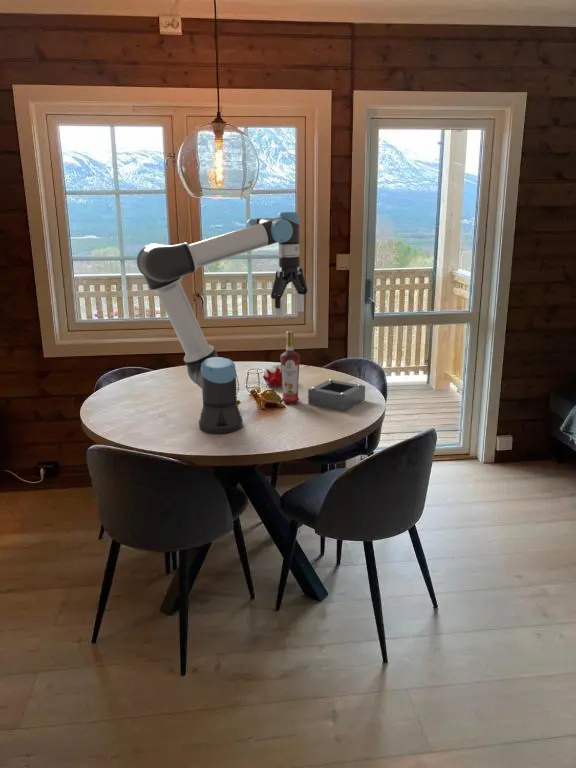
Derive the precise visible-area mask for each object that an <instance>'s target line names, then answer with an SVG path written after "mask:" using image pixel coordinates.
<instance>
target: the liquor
mask: <svg viewBox="0 0 576 768" xmlns="http://www.w3.org/2000/svg"><path fill="white" fill-rule="evenodd" d="M285 332H286V333H285V336H286V338H285V339H286V348H285V351H284V352H283V353H282V354H280V364H281V373H282V385H281V386H282V388H281V389H282V397H281V401H283V403H285V404H287V405H295V404H297V403H298V402H299V401H300V397H299V377H300V375H299V374H300V356H301V355H300V354H299V353H298V352H296V351H295V349H294V347H295V346H294V331H293V330H287V331H285Z"/></svg>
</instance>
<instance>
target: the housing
mask: <svg viewBox="0 0 576 768" xmlns="http://www.w3.org/2000/svg"><path fill="white" fill-rule="evenodd" d="M307 392H308V393H307V396H308V397H307V398H308V400H307V401H308V402H307V403H308V405H310V406H314V407H315V406H316V407H320V408H325V409H330V410H333V411H334V410H335V411H339V412H343V411H345V412H347V411H348V410H351V408H353V406H354V407H356V406H357V405H359V404H361V403H363V402H365V401H366V385H364V384H361V383H357V384H356V383H352V382H346V381H340V380H334V379H333V378H330V379H328V380H327V381H324V382H322V383H321V382H320V383H318V384H317V385H314V386H312V387H310V388H308V390H307ZM364 400H365V401H364ZM362 401H363V402H362ZM355 405H356V406H355Z"/></svg>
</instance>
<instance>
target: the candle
mask: <svg viewBox="0 0 576 768" xmlns="http://www.w3.org/2000/svg"><path fill="white" fill-rule="evenodd" d="M262 378H263V381H265V383H266V385H267V386H269V387H277V388H278V387H280V386H282V373H281V363H280V364H272V365H270V366H269V367H267V368H265V369H264V371H263V375H262Z"/></svg>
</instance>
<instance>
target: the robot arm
mask: <svg viewBox="0 0 576 768" xmlns="http://www.w3.org/2000/svg"><path fill="white" fill-rule="evenodd" d="M300 226H301V225H300V215H299V213H298V212H297V211H285V212H284V211H282V212H278V213H277V217H275V218H271V217H270V218H269V217H267V218H266V217H265V218H264V217H262V218H261V217H260V218H259V217H256V218H250V219H248V220H247V221H246V224H245V227H244V228H240V229H237V230H234V231H231V232H230V231H229V232H227V233H224V234H220V235H218V236H214V237H211V238H208V239H204V240H201V241H197V242H194V243H190V244H189V243H187V242H183V243H182V242H181V243H178V244H173V245H167V244H162V243H158V242H157V243H156V242H155V243H154V242H152V243H149V244H146V245H144V246H143V247H142V248H141V249H140V250H139V252H138V254H137V255H136V266H137V269H138V271H139V272H140V274H142V275H143V277H144V278H145V281H146V283H147V285H148V288H149V289H150V291H153V292H154V293H156V294H157V296H158V298H159V300H160V302H161V304H162V306H163V308H164V311H165V313H166V315H167V317H168V319H169V321H170V324H171V326H172V328H173V330H174V332H175V334H176V337H177V339H178V340H179V343H180V345H181V347H182V350H183V351H184V353H185V355H184V357H183V361H184V363H185V365H186V367H187V374H188V376H189V378H190V380H191V381H192V382H193V383H194V384H196V385H197V386H198V387H199V388H200V389H201V391H202V393H201V394H202V395H201V396H202V409H201V413H200V416H199V417H200V418H199V420H198V426H199V427H198V428H199V430H200V431H202V432H203V433H206V434H212V435H213V434H215V435H223V434H230V433H234V432H237V431H240V430H241V429H242V428H243V426H244V424H243V423H244V422H243V420H244V419H243V417H242V416H241V413H240V410H239V407H238V401H237V399H238V398H237V396H238V395H237V369H236V364H235V362H234V361H233V360H231V359H230V358H225V357H219V355H218V354H217V351H216V349H215V347H214V346H213V345H211V344H209V343H208V341H207V339H206V337H205V335H204V333H203V330H202V328H201V326H200V323H199V321H198V319H197V317H196V314H195V312H194V310H193V308H192V305H191V303H190V302H189V299H188V297H187V294H186V292H185V290H184V287H183V285H182V283H181V282H182V279H183V277H185V276H187V275H190V274H194V273H195V272H196V271H197V269H198V268H203V267H205V266H208V265H210V264H214V263H216V262H220V261H223V260H227V259H229V258H233V257H235V256H238V255H242V254H245V253H248V252H251V251H254V250H256V249H257V250H258V249H261V248H264V247H266V246H267V247H268V246H270V245H273V244H277V243H278V255H279V258H278V266H279V268H281V271H280V270H276V271H275V279H274V282H273V286H272V290H271V293H270V294H271V295H270V298H271V299H273V300H274V307H275V318H284V307H283V305H284V301H283V300H284V299H282V297H283V294H284V293H285V290H286V288H287V286H288V285H289V283H292V285H293V286H294V288H295V290H296V291H297V294H296V312H302V313H303V312H304V311H305V309H304V308H305V307H304V305H305V303H304V302H305V295H307V294H308V287H307V283H306V281H305V276H304V274H303V273H304V269H303V268H302V267H300V260H301V259H300V257H299V256H300Z"/></svg>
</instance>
